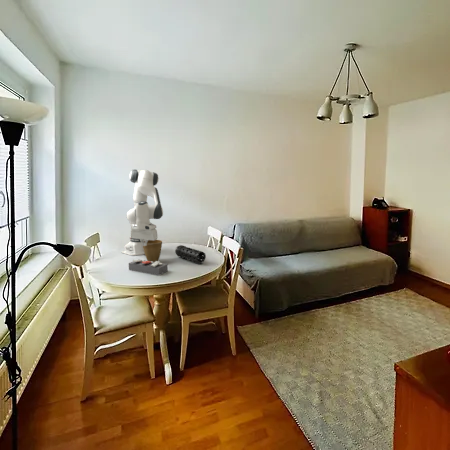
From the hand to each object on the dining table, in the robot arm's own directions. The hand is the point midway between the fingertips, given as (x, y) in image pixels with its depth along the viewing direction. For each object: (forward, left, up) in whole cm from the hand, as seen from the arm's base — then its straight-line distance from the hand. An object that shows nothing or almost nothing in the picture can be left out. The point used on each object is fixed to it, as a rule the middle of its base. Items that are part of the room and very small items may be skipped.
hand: (144, 245), depth 203 cm
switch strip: (-1, +4, -19) cm, 19 cm away
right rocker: (+7, +2, -13) cm, 15 cm away
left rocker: (-9, +2, -13) cm, 16 cm away
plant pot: (-11, +22, -19) cm, 31 cm away
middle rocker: (-1, +2, -13) cm, 13 cm away
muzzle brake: (+13, +37, -19) cm, 43 cm away
